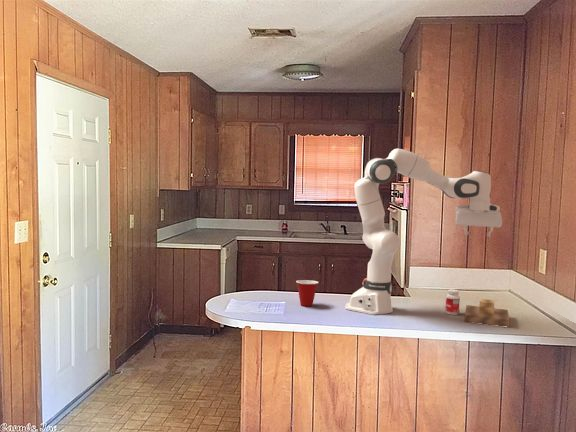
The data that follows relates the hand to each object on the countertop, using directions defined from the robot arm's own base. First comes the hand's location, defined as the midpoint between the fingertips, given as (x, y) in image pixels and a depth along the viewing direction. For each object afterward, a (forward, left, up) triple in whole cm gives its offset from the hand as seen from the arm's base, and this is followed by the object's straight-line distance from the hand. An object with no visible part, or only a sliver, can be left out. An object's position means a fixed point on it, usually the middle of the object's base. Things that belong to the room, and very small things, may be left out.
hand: (477, 235), depth 227 cm
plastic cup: (-75, -23, -37) cm, 87 cm away
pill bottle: (-9, -4, -37) cm, 39 cm away
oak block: (+6, -7, -34) cm, 35 cm away
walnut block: (+6, -7, -38) cm, 39 cm away
